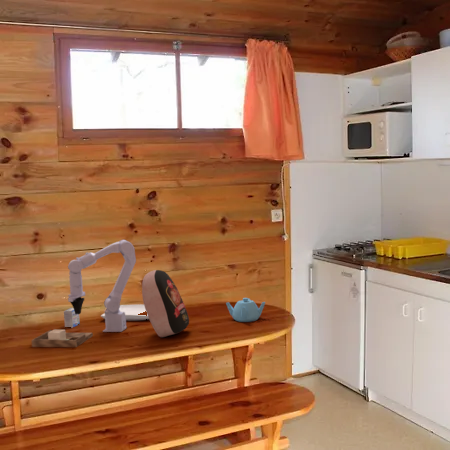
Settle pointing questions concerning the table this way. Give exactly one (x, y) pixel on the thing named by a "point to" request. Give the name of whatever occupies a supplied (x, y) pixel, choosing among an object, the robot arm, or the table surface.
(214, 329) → the table surface
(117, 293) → the robot arm
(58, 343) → the trap tray
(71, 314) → the medicine box
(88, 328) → the table surface
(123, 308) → the square plate
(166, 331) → the packaged food
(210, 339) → the table surface
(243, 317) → the teapot
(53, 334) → the cream block
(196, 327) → the table surface
